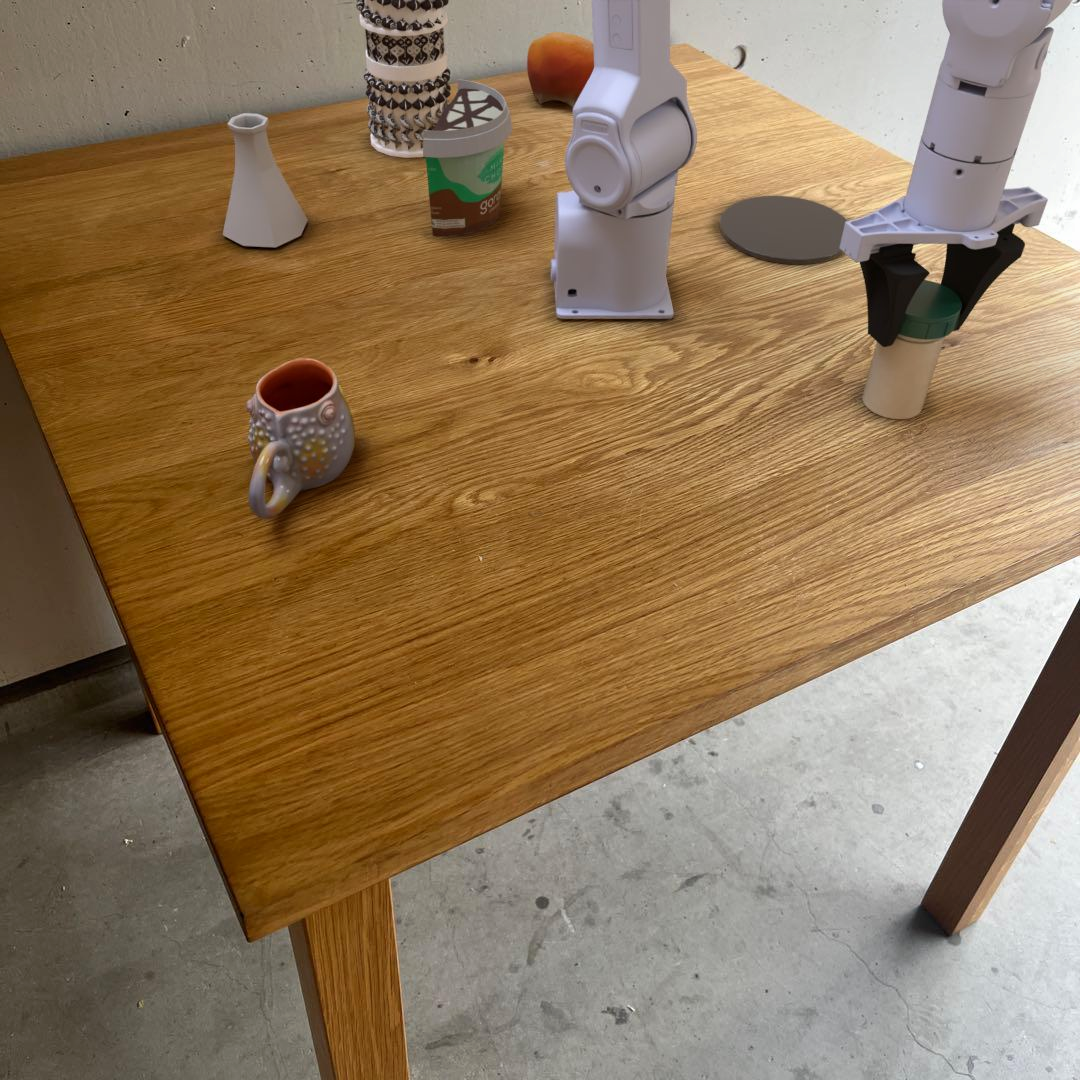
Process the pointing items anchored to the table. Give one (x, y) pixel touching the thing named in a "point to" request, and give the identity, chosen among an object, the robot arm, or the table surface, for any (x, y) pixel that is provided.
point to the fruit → (559, 66)
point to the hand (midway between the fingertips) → (912, 331)
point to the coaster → (783, 229)
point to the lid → (931, 312)
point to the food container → (467, 160)
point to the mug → (297, 433)
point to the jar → (901, 376)
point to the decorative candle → (404, 72)
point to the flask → (259, 190)
